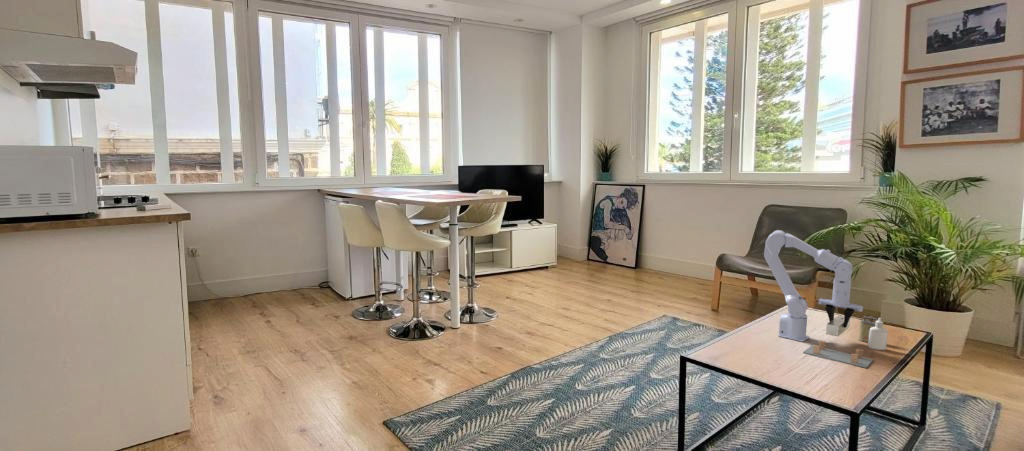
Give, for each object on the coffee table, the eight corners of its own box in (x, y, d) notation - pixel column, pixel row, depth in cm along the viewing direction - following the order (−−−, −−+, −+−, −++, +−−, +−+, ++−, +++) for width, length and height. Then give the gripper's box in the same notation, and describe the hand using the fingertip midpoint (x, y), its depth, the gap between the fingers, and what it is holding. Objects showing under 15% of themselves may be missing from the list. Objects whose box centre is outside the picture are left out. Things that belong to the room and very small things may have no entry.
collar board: (803, 353, 197) (803, 344, 197) (811, 346, 204) (812, 337, 204) (866, 368, 183) (867, 358, 183) (873, 360, 190) (874, 351, 190)
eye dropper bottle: (883, 352, 199) (886, 321, 198) (866, 347, 204) (869, 317, 202) (887, 349, 202) (890, 318, 200) (870, 345, 206) (873, 315, 205)
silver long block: (837, 336, 199) (838, 326, 199) (826, 334, 202) (826, 323, 202) (849, 327, 211) (850, 317, 210) (837, 325, 213) (838, 315, 213)
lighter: (880, 342, 209) (882, 318, 208) (879, 345, 207) (881, 320, 205) (859, 338, 214) (861, 314, 213) (857, 340, 211) (859, 316, 210)
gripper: (817, 289, 207) (814, 323, 208) (860, 296, 196) (857, 332, 198) (822, 286, 212) (820, 319, 213) (865, 293, 201) (862, 328, 203)
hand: (838, 325), depth 206 cm, fingers closed on silver long block, 4 cm apart
